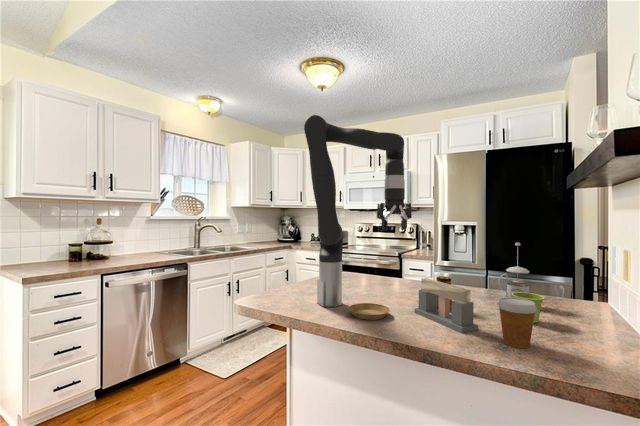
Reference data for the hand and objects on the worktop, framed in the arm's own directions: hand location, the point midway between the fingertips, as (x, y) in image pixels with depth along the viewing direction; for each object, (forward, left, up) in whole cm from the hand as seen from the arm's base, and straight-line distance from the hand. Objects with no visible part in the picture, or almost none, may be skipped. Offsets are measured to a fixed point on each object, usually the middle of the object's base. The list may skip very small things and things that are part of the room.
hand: (394, 230), depth 125 cm
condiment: (+17, -7, -30) cm, 36 cm away
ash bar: (+8, -18, -22) cm, 29 cm away
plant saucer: (-13, -3, -31) cm, 33 cm away
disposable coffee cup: (+12, -41, -30) cm, 52 cm away
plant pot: (+34, -29, -30) cm, 54 cm away
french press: (+48, -14, -30) cm, 58 cm away
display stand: (+8, -18, -30) cm, 36 cm away
